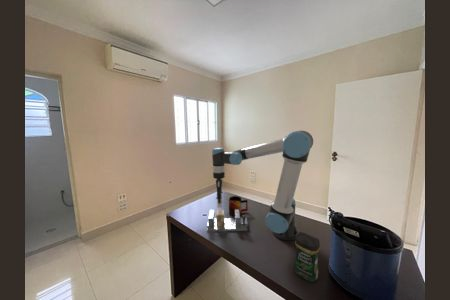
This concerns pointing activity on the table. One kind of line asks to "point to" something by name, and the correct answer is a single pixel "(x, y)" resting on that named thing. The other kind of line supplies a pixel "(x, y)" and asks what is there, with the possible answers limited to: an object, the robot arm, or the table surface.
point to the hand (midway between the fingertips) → (219, 204)
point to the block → (220, 218)
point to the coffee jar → (307, 256)
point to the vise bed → (228, 224)
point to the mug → (236, 205)
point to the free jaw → (240, 220)
